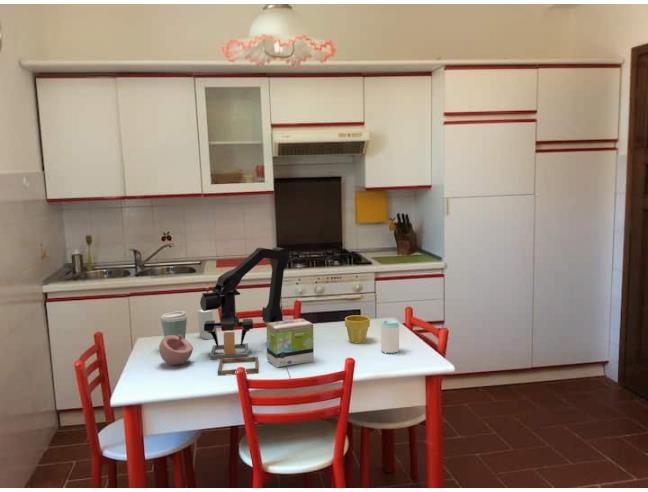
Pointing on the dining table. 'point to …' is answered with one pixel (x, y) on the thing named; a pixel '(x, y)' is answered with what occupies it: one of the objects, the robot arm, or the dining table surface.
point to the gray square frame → (213, 357)
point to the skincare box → (202, 318)
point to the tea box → (289, 342)
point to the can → (389, 336)
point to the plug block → (229, 343)
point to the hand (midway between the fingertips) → (229, 346)
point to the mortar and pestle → (175, 349)
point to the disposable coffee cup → (174, 323)
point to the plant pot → (357, 327)
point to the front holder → (234, 360)
